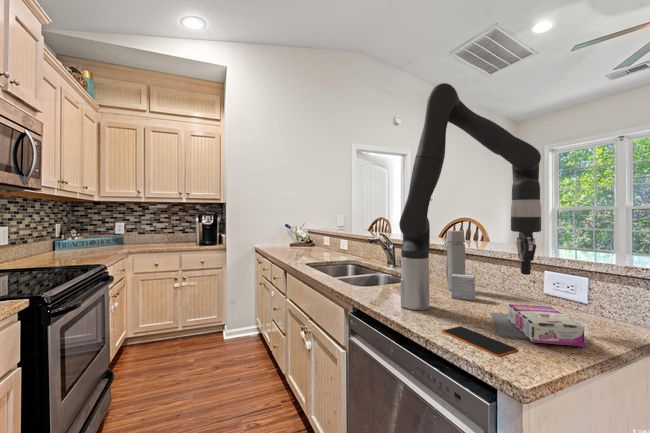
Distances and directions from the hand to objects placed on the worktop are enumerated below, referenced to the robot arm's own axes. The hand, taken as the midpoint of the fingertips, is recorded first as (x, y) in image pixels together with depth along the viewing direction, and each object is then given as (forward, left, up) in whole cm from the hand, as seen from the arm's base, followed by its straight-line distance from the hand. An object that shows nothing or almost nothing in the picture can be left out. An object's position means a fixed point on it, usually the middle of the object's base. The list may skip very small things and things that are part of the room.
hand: (525, 274), depth 90 cm
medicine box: (-16, +22, -14) cm, 31 cm away
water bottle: (-19, +35, -14) cm, 42 cm away
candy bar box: (0, -2, -11) cm, 11 cm away
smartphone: (-15, -20, -15) cm, 29 cm away
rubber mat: (0, -6, -14) cm, 15 cm away
